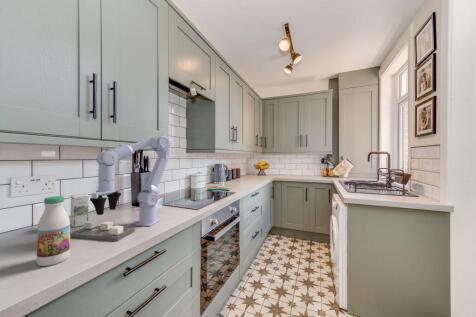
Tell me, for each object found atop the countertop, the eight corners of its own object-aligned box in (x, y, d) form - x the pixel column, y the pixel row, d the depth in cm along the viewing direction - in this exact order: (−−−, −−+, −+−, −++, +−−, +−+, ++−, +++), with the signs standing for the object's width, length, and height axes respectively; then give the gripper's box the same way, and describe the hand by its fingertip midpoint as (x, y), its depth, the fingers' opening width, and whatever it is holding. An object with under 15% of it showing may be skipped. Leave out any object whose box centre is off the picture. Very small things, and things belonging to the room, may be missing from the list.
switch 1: (89, 225, 89) (90, 220, 89) (97, 226, 88) (97, 220, 88) (83, 228, 86) (83, 222, 86) (91, 228, 85) (91, 222, 85)
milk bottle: (36, 260, 63) (37, 196, 63) (68, 252, 68) (69, 193, 68) (36, 270, 57) (36, 200, 57) (71, 260, 63) (71, 197, 62)
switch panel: (90, 228, 90) (90, 225, 90) (134, 231, 87) (134, 228, 87) (68, 237, 80) (68, 233, 80) (117, 241, 77) (117, 237, 77)
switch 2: (105, 227, 87) (105, 221, 87) (113, 227, 87) (113, 221, 87) (100, 229, 84) (100, 223, 84) (107, 230, 84) (107, 224, 84)
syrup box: (85, 222, 99) (85, 193, 99) (88, 225, 95) (88, 194, 95) (70, 225, 94) (70, 194, 94) (73, 228, 91) (73, 196, 90)
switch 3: (115, 231, 82) (115, 225, 82) (123, 232, 82) (123, 226, 82) (109, 234, 79) (109, 228, 79) (117, 234, 79) (117, 228, 79)
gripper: (108, 177, 91) (108, 207, 91) (83, 181, 77) (83, 217, 77) (124, 178, 91) (123, 207, 91) (101, 182, 77) (101, 217, 77)
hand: (106, 212), depth 84 cm, fingers open, 7 cm apart
